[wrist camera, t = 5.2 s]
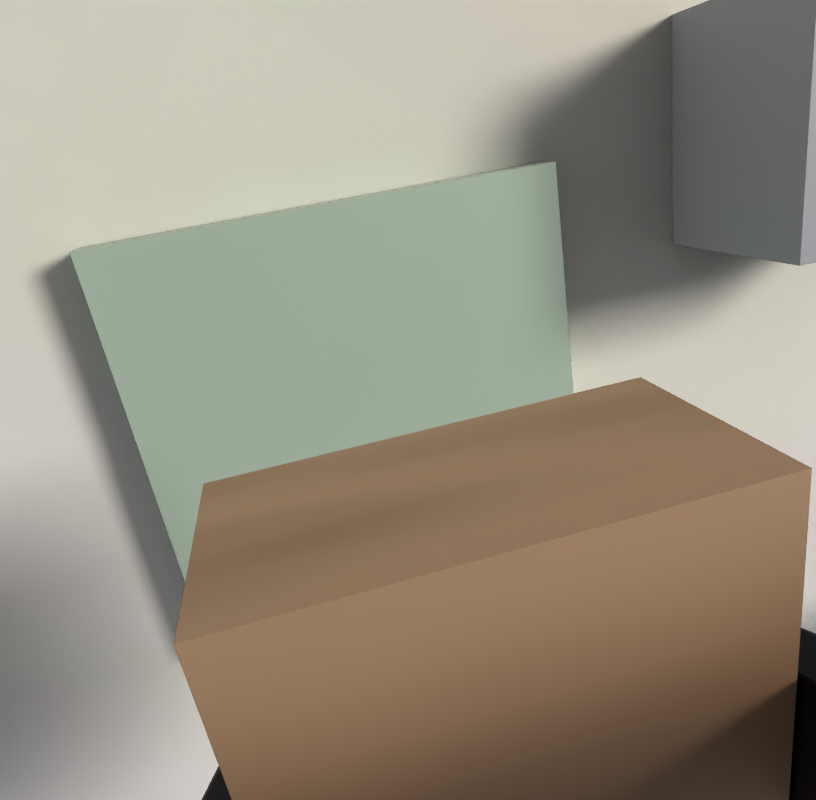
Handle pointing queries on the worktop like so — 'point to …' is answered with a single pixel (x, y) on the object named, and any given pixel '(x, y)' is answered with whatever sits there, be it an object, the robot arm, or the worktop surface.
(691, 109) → the slate block
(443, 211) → the baseplate
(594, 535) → the walnut block
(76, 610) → the worktop surface
